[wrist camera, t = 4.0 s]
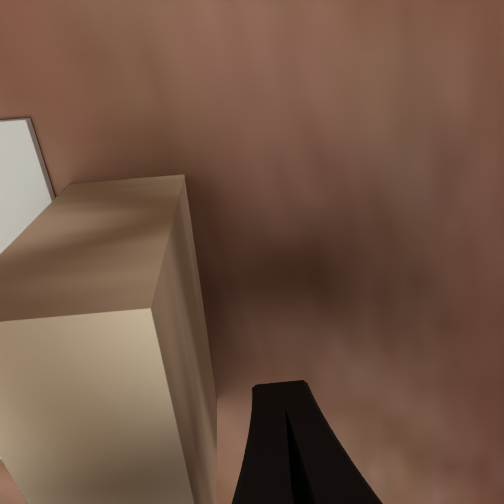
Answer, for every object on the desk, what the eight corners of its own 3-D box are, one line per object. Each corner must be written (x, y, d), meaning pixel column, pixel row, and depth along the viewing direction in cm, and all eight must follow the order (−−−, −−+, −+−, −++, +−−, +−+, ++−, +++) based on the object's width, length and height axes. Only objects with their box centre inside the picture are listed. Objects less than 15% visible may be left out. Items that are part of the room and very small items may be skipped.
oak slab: (184, 173, 13) (150, 308, 6) (216, 398, 17) (215, 597, 11) (71, 182, 12) (-74, 328, 6) (135, 405, 17) (88, 611, 11)
